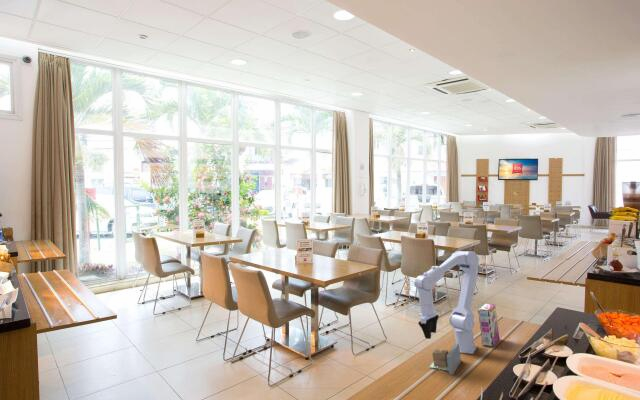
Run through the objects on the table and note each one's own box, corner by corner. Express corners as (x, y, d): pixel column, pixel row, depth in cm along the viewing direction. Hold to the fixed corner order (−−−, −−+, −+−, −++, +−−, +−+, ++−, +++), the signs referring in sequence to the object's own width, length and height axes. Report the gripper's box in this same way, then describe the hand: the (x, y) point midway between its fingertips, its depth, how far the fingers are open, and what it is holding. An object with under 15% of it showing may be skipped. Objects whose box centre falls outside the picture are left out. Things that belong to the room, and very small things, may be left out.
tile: (435, 361, 159) (434, 359, 159) (453, 363, 155) (452, 361, 155) (429, 368, 153) (429, 366, 153) (448, 370, 149) (448, 368, 149)
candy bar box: (493, 347, 166) (488, 310, 167) (482, 345, 169) (477, 309, 170) (500, 339, 175) (495, 303, 175) (489, 337, 178) (484, 303, 179)
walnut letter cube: (437, 361, 157) (435, 348, 157) (449, 362, 154) (447, 349, 155) (434, 365, 153) (432, 353, 153) (446, 367, 150) (444, 354, 150)
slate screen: (457, 360, 157) (455, 343, 157) (461, 360, 156) (458, 343, 157) (448, 374, 145) (446, 356, 146) (452, 374, 145) (450, 356, 145)
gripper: (422, 299, 170) (426, 329, 169) (412, 307, 158) (416, 340, 157) (438, 299, 166) (442, 330, 165) (428, 308, 154) (433, 341, 153)
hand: (430, 335), depth 161 cm, fingers open, 7 cm apart
